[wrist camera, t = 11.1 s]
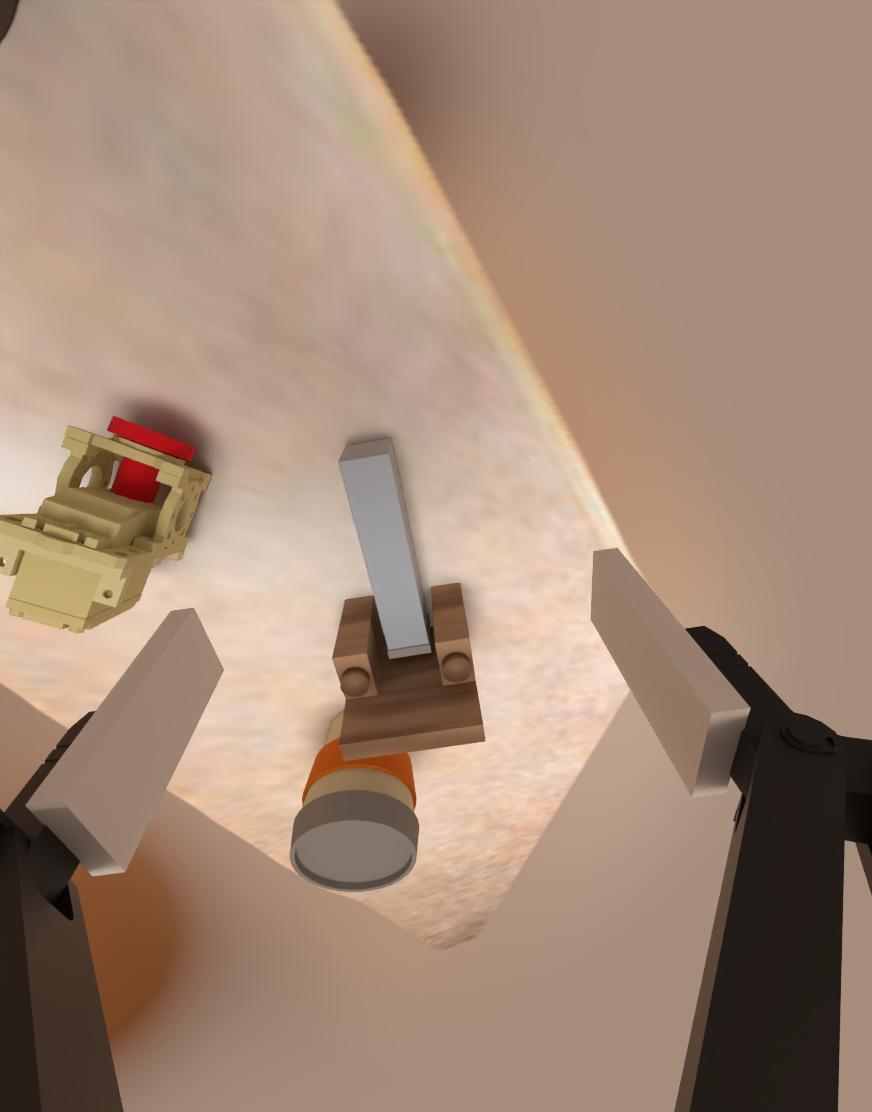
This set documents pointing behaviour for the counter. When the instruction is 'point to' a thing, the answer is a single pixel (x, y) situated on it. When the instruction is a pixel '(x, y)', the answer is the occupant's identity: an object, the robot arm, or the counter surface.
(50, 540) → the mechanical component
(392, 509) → the rail
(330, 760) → the reusable coffee cup
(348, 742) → the wooden bracket with knobs
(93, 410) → the counter surface
